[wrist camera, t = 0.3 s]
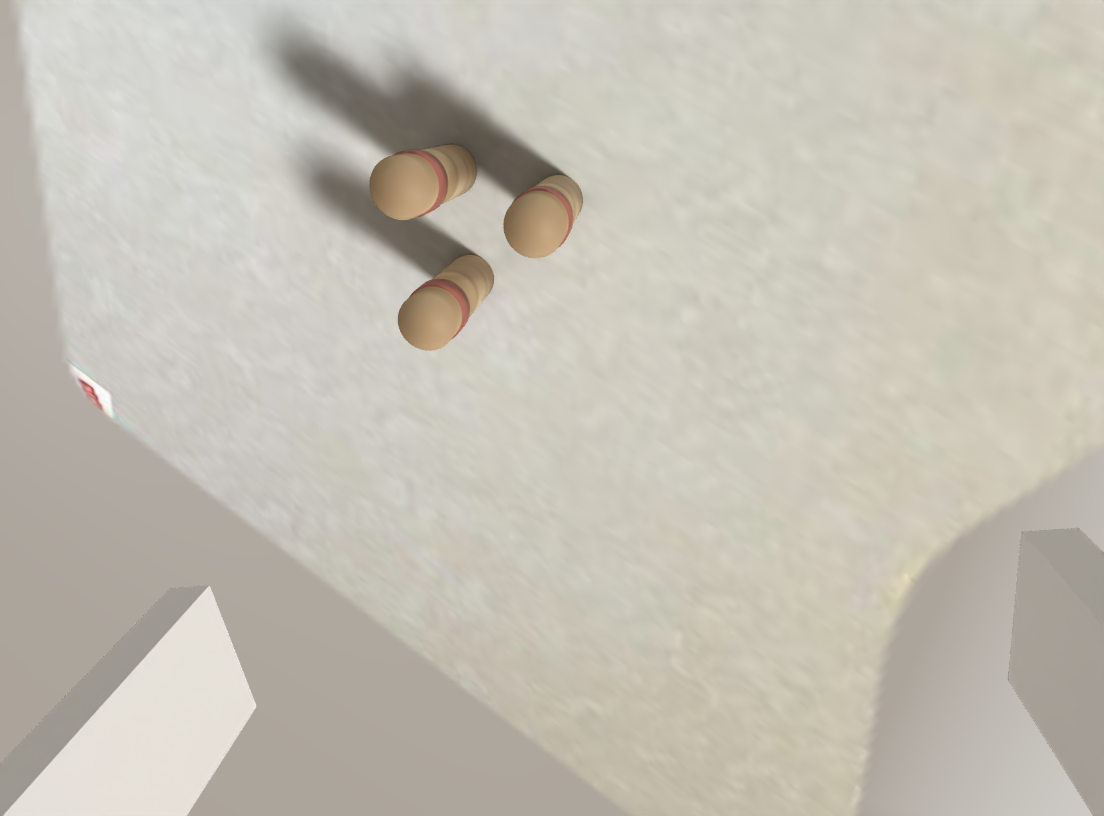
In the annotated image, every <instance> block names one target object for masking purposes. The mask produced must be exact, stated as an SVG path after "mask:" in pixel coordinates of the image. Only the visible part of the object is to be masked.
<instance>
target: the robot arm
mask: <svg viewBox="0 0 1104 816" xmlns="http://www.w3.org/2000/svg"><path fill="white" fill-rule="evenodd" d="M1008 681H1009V682H1010V684H1011V685H1012V687H1013V689H1014V690H1015V692H1016V693H1017V695H1018V697H1019V698H1020V700H1021V701H1022V703H1023V705H1024V706H1025V708H1026V709H1027V711H1028V712H1029V714H1030V716H1031V717H1032V719H1033V720H1034V722H1035V724H1036V725H1037V727H1038V729H1039V730H1040V732H1041V733H1042V735H1043V737H1044V738H1045V739H1046V741H1047V743H1048V744H1049V746H1050V748H1051V749H1052V751H1053V752H1054V754H1055V756H1056V757H1057V759H1058V760H1059V762H1060V764H1061V765H1062V767H1063V768H1064V770H1065V771H1066V773H1067V775H1068V776H1069V778H1070V780H1071V781H1072V783H1073V784H1074V786H1075V787H1076V789H1077V791H1078V792H1079V794H1080V795H1081V797H1082V799H1083V800H1084V802H1085V804H1086V805H1087V807H1088V808H1089V810H1090V811H1091V813H1092V815H1093V816H1104V552H1103V551H1102V550H1101V549H1099V547H1098V546H1097V545H1095V544H1094V543H1093V542H1092V541H1091V540H1090V539H1089V538H1088V537H1087V536H1086V535H1085V534H1084V533H1083V532H1082V531H1081V530H1080V529H1079V528H1070V529H1055V530H1040V531H1025V532H1021V539H1020V550H1019V561H1018V573H1017V583H1016V594H1015V606H1014V617H1013V628H1012V639H1011V650H1010V661H1009V672H1008ZM255 708H256V704H255V701H254V699H253V696H252V694H251V691H250V688H249V686H248V683H247V681H246V678H245V676H244V673H243V670H242V668H241V665H240V663H239V660H238V658H237V655H236V652H235V650H234V647H233V645H232V642H231V640H230V637H229V635H228V632H227V629H226V627H225V624H224V622H223V619H222V616H221V614H220V612H219V609H218V606H217V604H216V601H215V598H214V596H213V593H212V591H211V588H210V586H193V587H178V588H170V589H169V590H168V591H167V592H166V593H165V594H164V595H163V596H162V597H161V598H160V599H159V600H158V601H157V602H156V603H155V604H154V605H153V606H152V607H151V609H150V610H149V611H148V612H147V613H146V614H145V615H144V616H143V617H142V618H141V619H140V620H139V621H138V622H137V623H136V624H135V625H134V626H133V627H132V628H131V629H130V630H129V631H128V632H127V633H126V634H125V635H124V636H123V637H122V638H121V639H120V640H119V641H118V642H117V643H116V645H114V646H113V648H112V649H111V650H110V651H109V652H108V653H107V654H106V655H105V656H104V657H103V658H102V659H101V660H100V661H99V662H98V663H97V664H96V665H95V666H94V667H93V668H92V669H91V670H90V671H89V672H88V673H87V674H86V675H85V676H84V678H82V679H81V680H80V682H78V684H77V685H76V686H75V687H74V688H73V689H72V690H71V691H70V692H69V693H68V694H67V695H66V696H65V697H64V698H63V699H62V700H61V701H60V702H59V703H58V704H57V705H56V706H55V707H54V708H53V709H52V710H51V711H50V712H49V713H48V715H46V716H45V717H44V718H43V720H42V721H41V722H40V723H39V724H38V725H37V726H36V727H35V728H34V729H33V730H32V731H31V732H30V733H29V734H28V735H27V736H26V737H25V738H24V739H23V740H22V741H21V742H20V743H19V744H18V745H17V746H16V747H15V748H14V749H13V750H12V752H11V753H10V754H9V755H8V756H7V757H6V758H5V759H4V760H3V761H2V762H1V763H0V816H187V814H188V813H189V811H190V810H191V808H192V806H193V805H194V803H195V802H196V800H197V799H198V797H199V796H200V794H201V792H202V791H203V789H204V788H205V786H206V785H207V783H208V782H209V780H210V778H211V777H212V775H213V774H214V772H215V771H216V769H217V767H218V766H219V764H220V763H221V761H222V760H223V758H224V756H225V755H226V753H227V752H228V750H229V749H230V747H231V745H232V744H233V742H234V741H235V739H236V738H237V736H238V735H239V733H240V732H241V730H242V728H243V727H244V725H245V724H246V722H247V721H248V719H249V717H250V716H251V714H252V713H253V711H254V710H255Z"/></svg>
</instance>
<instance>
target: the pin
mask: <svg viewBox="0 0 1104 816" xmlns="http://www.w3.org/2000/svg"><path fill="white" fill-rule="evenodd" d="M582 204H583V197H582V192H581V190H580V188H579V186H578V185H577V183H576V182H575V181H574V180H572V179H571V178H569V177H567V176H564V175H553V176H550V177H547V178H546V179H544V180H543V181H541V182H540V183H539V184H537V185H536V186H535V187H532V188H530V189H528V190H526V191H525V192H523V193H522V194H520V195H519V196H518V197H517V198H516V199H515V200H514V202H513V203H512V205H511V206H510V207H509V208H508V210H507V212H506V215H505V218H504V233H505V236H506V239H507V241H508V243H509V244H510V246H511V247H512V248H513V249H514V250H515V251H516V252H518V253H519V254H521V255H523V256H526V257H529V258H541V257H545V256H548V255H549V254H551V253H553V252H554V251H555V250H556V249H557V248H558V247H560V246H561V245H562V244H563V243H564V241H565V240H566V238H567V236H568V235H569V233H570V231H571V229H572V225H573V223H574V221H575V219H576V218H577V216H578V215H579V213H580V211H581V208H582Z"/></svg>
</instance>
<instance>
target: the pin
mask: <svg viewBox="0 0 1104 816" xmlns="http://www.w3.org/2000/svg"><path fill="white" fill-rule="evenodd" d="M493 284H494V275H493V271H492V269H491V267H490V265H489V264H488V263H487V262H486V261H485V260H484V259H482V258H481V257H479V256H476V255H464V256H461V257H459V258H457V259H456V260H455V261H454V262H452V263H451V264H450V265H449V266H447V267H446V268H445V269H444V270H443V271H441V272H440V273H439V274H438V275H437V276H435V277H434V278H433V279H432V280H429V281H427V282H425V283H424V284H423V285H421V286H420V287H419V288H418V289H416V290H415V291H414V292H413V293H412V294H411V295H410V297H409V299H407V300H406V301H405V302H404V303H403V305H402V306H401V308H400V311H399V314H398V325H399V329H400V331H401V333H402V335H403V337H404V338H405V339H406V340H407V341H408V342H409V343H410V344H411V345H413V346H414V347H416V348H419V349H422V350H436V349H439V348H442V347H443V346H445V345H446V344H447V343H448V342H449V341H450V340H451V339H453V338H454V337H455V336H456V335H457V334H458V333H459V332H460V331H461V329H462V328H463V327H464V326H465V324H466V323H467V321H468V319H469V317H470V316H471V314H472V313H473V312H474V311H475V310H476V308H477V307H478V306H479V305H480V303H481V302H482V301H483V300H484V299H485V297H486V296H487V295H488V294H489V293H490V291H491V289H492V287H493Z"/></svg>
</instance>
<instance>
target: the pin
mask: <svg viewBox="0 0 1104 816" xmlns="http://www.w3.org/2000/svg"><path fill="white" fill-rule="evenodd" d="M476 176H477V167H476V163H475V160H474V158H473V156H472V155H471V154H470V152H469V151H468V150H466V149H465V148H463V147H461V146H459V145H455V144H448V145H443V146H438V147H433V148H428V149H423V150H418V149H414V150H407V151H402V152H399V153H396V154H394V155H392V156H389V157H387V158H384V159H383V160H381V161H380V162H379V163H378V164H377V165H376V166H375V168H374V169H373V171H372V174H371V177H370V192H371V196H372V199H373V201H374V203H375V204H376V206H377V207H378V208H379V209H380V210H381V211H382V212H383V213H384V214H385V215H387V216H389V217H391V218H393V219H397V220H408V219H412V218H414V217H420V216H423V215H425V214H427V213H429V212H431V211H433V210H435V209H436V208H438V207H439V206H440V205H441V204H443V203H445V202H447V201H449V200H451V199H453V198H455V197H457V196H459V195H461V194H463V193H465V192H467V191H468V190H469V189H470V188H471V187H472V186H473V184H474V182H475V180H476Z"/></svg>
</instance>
